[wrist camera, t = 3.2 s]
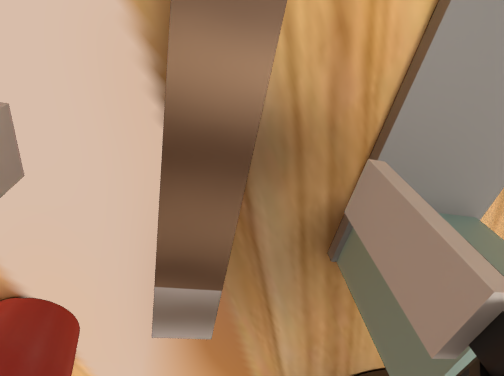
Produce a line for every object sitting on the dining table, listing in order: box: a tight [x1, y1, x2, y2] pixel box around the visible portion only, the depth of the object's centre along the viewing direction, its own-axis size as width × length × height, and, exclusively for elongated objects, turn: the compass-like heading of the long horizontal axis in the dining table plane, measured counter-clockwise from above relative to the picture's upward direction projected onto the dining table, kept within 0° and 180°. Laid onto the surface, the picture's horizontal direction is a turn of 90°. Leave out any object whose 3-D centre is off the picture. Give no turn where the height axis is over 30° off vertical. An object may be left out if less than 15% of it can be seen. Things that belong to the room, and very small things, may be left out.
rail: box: [152, 0, 287, 339], centre depth 16 cm, size 28×4×6 cm, turn 168°
